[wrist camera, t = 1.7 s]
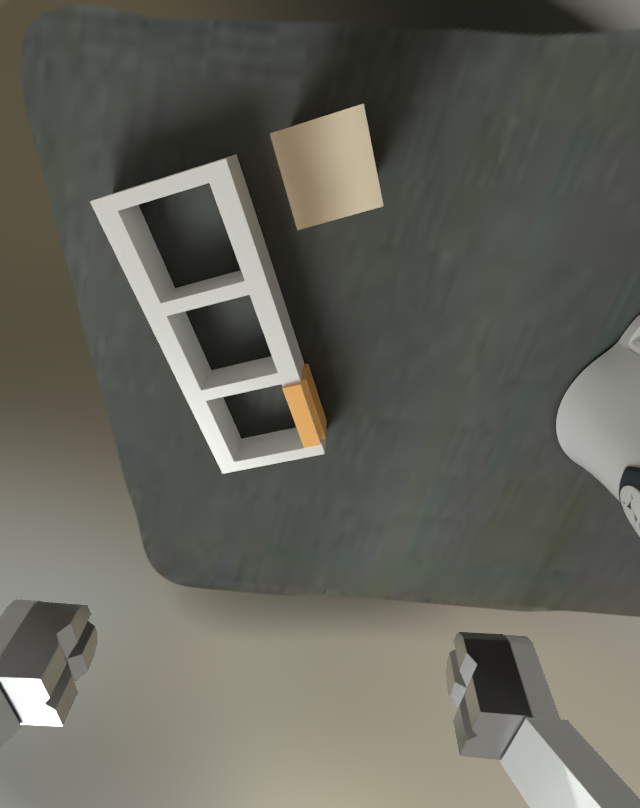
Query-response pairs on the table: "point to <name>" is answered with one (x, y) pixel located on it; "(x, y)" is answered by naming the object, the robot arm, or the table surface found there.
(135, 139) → the table surface
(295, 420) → the rack
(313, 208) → the wooden block
